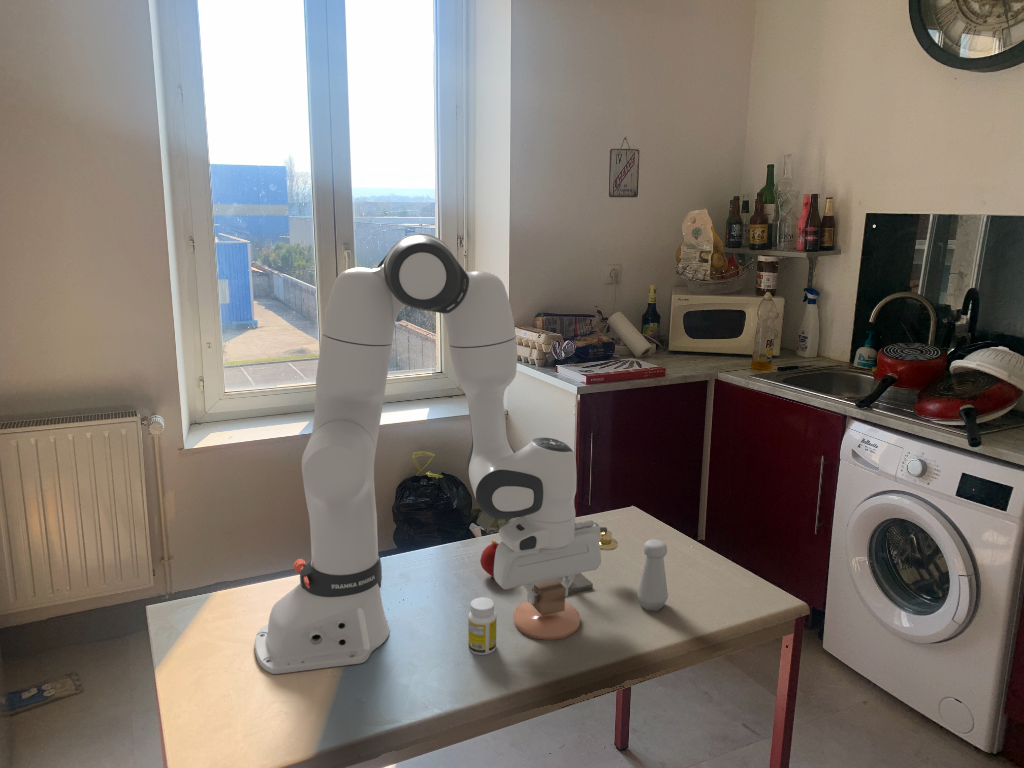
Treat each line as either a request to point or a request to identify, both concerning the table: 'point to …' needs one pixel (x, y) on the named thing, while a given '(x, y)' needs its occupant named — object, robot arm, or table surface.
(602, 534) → the balance
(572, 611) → the dish
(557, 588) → the block
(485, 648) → the supplement bottle
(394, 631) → the table surface
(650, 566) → the salt shaker
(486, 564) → the onion
